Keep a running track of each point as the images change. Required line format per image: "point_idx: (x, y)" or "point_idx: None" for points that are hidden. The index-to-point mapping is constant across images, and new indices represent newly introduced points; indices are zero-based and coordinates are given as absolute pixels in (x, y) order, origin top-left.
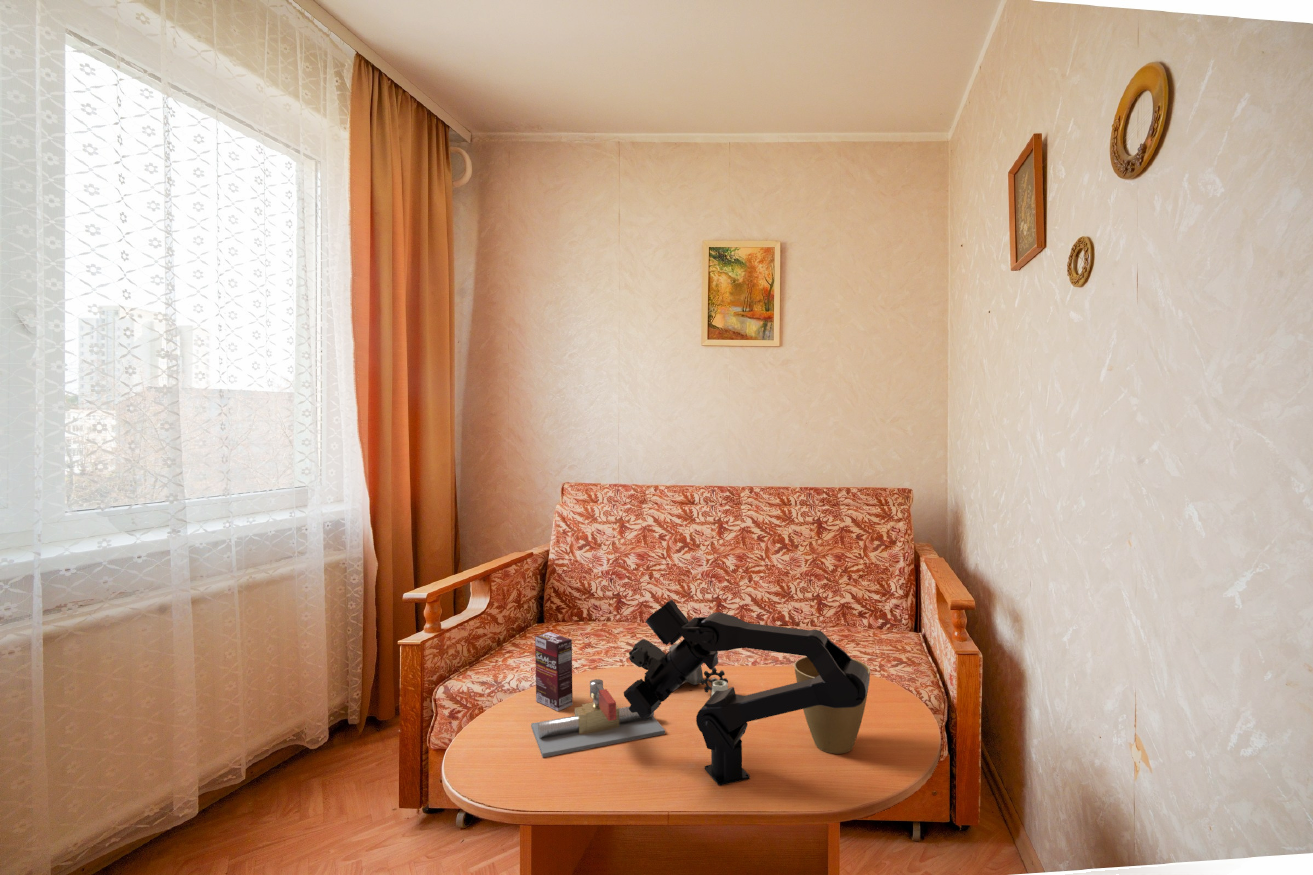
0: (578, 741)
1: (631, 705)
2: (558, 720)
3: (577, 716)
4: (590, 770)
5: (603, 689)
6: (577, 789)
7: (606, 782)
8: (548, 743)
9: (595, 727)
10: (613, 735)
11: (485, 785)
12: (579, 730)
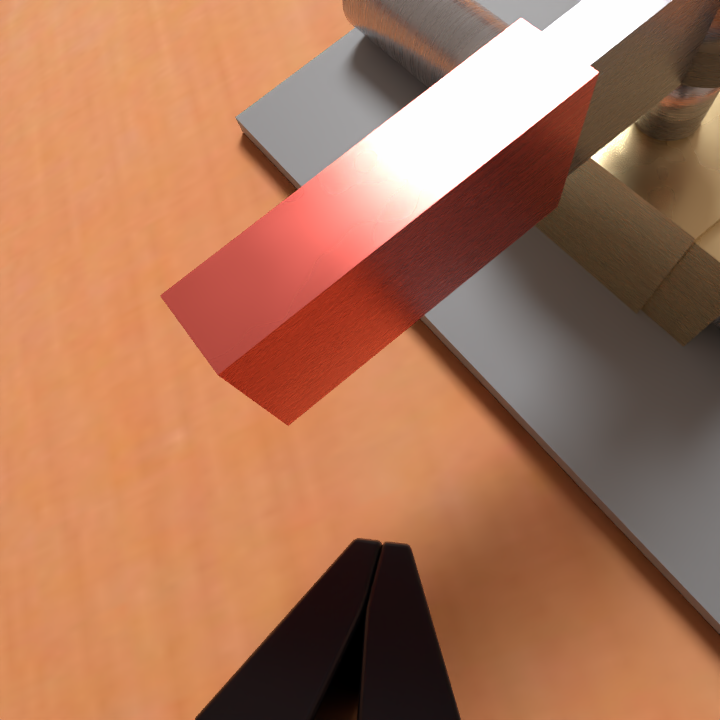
0: None
1: (313, 595)
2: (435, 10)
3: None
4: (177, 393)
5: (569, 51)
6: (9, 410)
7: (80, 527)
8: (335, 89)
9: (551, 220)
10: (550, 358)
11: (12, 69)
12: None
